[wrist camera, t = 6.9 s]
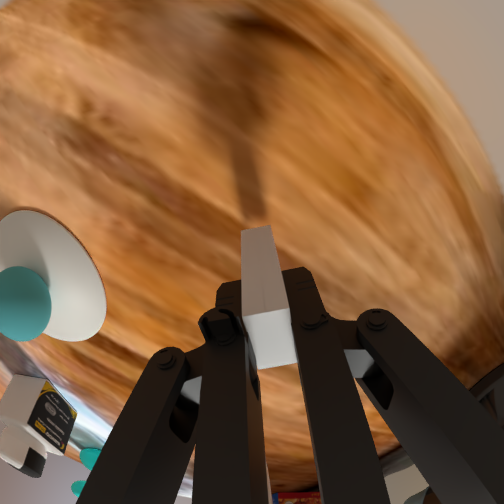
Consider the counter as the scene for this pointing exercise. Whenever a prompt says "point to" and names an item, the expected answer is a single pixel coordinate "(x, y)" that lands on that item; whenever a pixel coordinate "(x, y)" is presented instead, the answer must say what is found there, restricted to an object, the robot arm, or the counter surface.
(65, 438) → the medicine bottle
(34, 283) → the ball
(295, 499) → the pasta box
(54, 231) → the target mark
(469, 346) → the counter surface
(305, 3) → the counter surface
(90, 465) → the donuts
